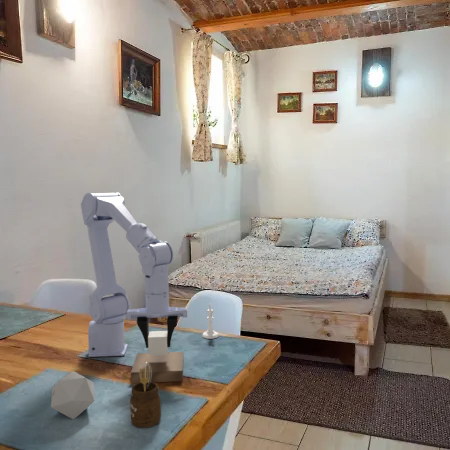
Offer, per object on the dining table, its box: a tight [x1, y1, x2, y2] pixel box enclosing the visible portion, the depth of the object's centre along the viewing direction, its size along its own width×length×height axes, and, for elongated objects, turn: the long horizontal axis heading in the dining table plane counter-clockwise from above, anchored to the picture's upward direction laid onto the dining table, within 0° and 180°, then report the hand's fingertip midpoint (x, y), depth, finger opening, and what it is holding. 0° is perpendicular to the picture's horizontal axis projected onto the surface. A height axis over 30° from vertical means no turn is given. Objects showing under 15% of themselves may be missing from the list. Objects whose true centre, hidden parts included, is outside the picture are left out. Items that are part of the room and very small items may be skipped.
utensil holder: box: [129, 363, 162, 429], centre depth 90 cm, size 6×6×12 cm
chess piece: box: [201, 303, 220, 340], centre depth 139 cm, size 5×5×10 cm
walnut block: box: [130, 351, 185, 384], centre depth 114 cm, size 12×12×3 cm
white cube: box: [147, 330, 169, 356], centre depth 113 cm, size 4×4×4 cm
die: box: [50, 370, 96, 421], centre depth 94 cm, size 8×9×10 cm
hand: (158, 346), depth 113 cm, fingers closed on white cube, 4 cm apart
